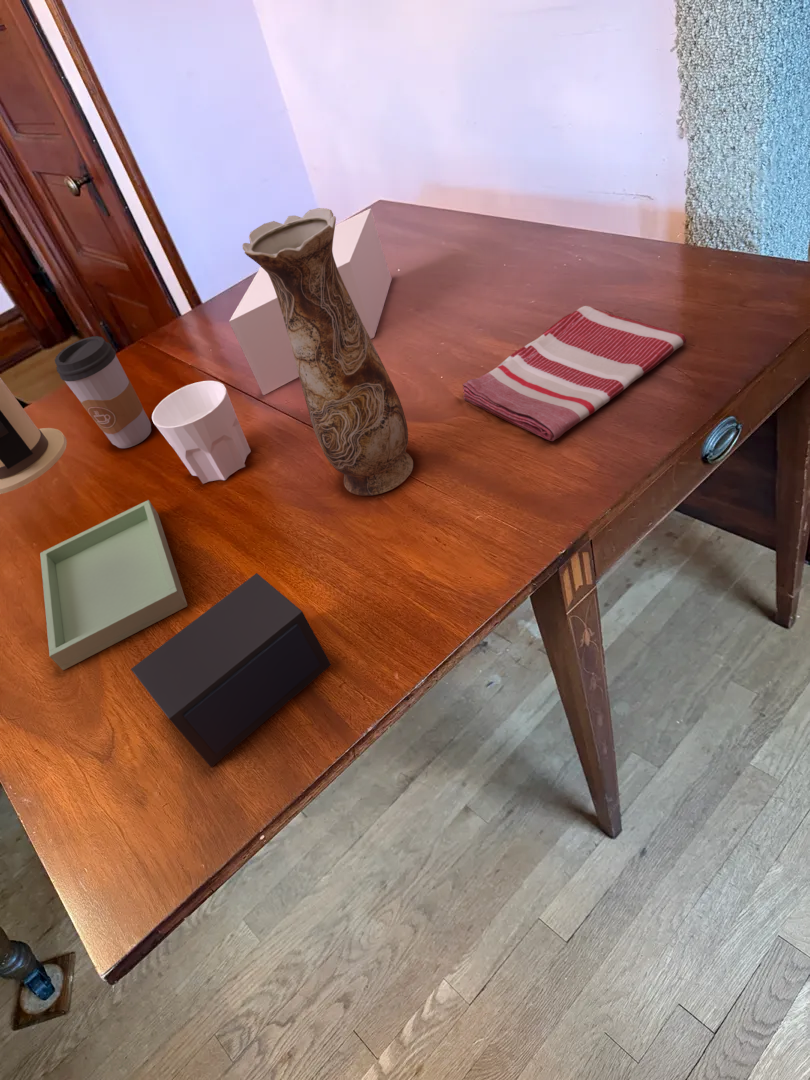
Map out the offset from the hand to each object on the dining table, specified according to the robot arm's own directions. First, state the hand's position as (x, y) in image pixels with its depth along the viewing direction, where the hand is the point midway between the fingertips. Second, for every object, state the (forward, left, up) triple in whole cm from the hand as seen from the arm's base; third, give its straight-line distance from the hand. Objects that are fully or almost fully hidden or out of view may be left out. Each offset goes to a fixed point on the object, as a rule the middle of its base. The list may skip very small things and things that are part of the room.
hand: (8, 447), depth 75 cm
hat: (0, 0, -2) cm, 2 cm away
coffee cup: (+32, +10, -21) cm, 39 cm away
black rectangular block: (-17, -22, -21) cm, 35 cm away
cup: (+21, -8, -21) cm, 31 cm away
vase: (+14, -31, -21) cm, 40 cm away
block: (+52, -19, -21) cm, 59 cm away
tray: (0, 0, -21) cm, 21 cm away
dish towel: (+27, -55, -21) cm, 65 cm away
